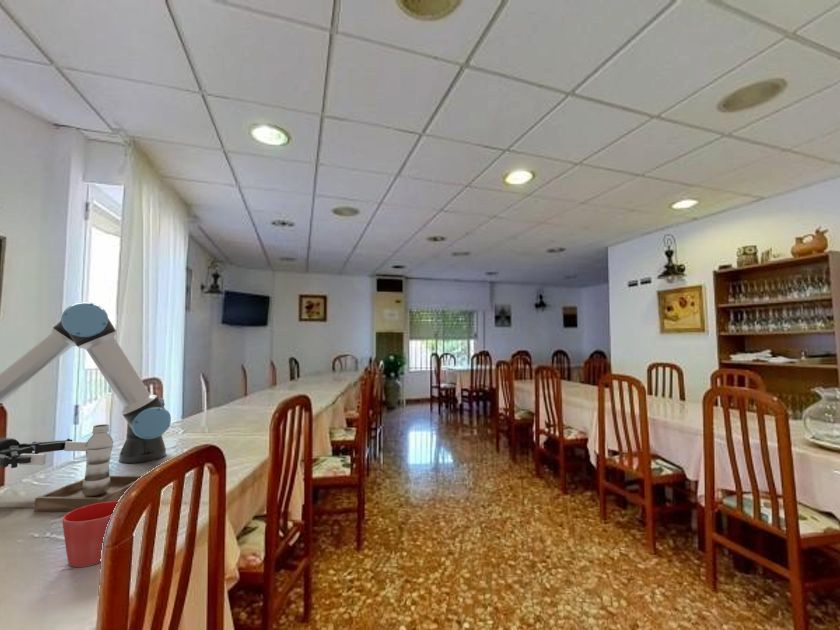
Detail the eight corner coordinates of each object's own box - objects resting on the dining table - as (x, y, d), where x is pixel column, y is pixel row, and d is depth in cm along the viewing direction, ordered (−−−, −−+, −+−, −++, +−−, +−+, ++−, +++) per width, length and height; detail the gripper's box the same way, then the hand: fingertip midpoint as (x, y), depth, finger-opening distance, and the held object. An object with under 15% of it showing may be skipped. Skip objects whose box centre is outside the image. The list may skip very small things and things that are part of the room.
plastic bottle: (93, 500, 107) (99, 428, 109) (74, 498, 109) (80, 427, 110) (115, 491, 114) (121, 424, 115) (97, 489, 115) (103, 422, 117)
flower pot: (85, 545, 86) (89, 500, 87) (136, 543, 87) (139, 499, 88) (43, 573, 75) (47, 522, 76) (101, 571, 76) (105, 521, 77)
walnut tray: (91, 486, 120) (92, 475, 120) (148, 487, 120) (148, 476, 120) (33, 511, 102) (35, 498, 102) (100, 512, 102) (101, 499, 102)
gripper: (35, 452, 124) (100, 453, 124) (-60, 479, 99) (21, 480, 99) (38, 429, 125) (102, 430, 125) (-57, 450, 100) (24, 451, 100)
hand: (67, 452), depth 112 cm, fingers open, 13 cm apart
